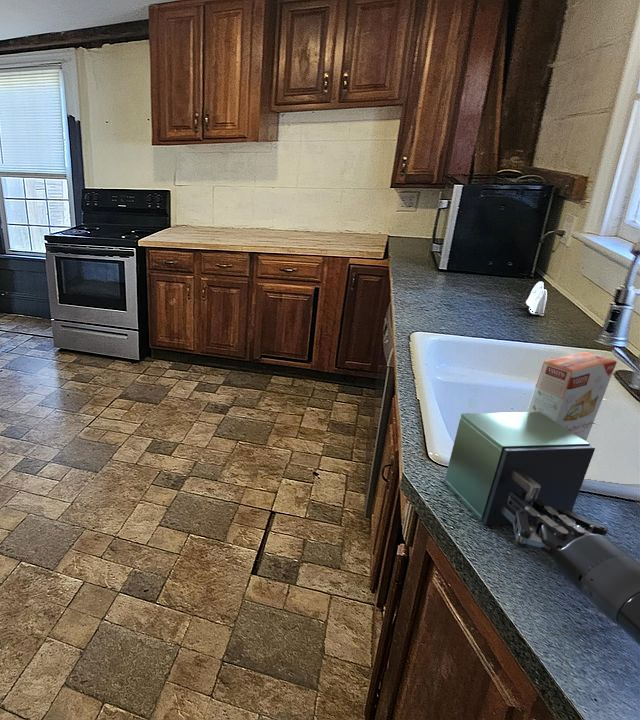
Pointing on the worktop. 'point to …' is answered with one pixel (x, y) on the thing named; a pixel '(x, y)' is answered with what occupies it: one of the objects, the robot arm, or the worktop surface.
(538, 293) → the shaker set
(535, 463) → the door
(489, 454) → the dark green box
